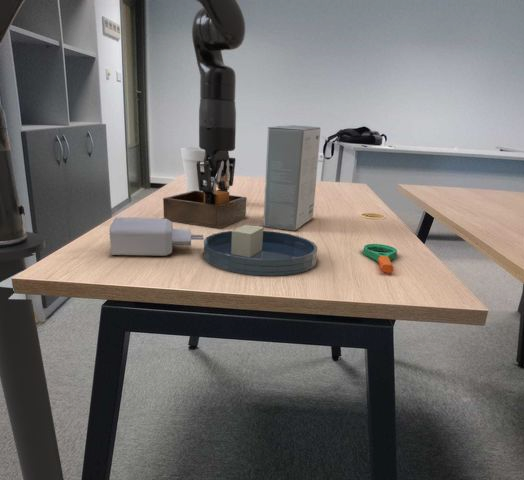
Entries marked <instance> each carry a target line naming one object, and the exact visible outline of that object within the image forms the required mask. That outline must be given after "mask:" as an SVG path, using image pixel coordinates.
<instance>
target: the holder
mask: <svg viewBox="0 0 524 480" xmlns="http://www.w3.org/2000/svg"><path fill="white" fill-rule="evenodd" d="M247 199H248V198H247V196H240V195H232V194H229V202H227V203H224V204H221V205H213V204H206V203H204V192H202V191H190V192H187V191H186V192H183V193H179V194H174V195H171V196H167V197H163V199H162V202H163V203H162V205H163V206H162V207H163V219H168V220H170V221H172V222H173V223H181V224H186V225H192V226H193V225H194V226H200V227H207V228H213V229H222V228H225V227H227V226H229V225H232V224H234V223H236V222H239V221H241V220H243V219H245V218H246V217H247Z"/></svg>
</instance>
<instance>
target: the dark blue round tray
mask: <svg viewBox="0 0 524 480" xmlns="http://www.w3.org/2000/svg"><path fill="white" fill-rule="evenodd" d="M232 231H233V230H227V231H221V232H217V233H213V234H210V235H209V236H207V237H206V238H205V239H203V258H204V260H205V261H206V262H207V263H208V264H210V265H211V266H213V267H215V268H218V269H221V270H223V271H228V272H232V273H235V274H236V273H237V274H243V275H250V276H264V277H269V276H271V277H273V276H275V277H277V276H289V275H290V276H291V275H296V274H300V273H305V272H308V271H309V270H311V269H313V268H314V267H315V265H316V264H317V257H318V256H317V255H318V245H317V244H315V242H313V241H311V240H309V239H307V238H304V237H301V236H299V235H295V234H294V235H293V234H291V233H286V232H279V231H273V230H272V231H271V230H263V241H262V250H261V251H260V252H258V253H256V254H255V255H253V256H251V257H244V256H238V255H232V254H231V245H232Z"/></svg>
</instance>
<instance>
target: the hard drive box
mask: <svg viewBox="0 0 524 480" xmlns="http://www.w3.org/2000/svg"><path fill="white" fill-rule="evenodd" d="M266 137H267V138H266V140H267V141H266V158H265V159H266V161H265V162H266V163H265V165H266V166H265V180H264V181H265V182H264V183H265V184H264V199H263V200H264V201H263V202H264V203H263V205H264V206H263V222H262V225H263V228H270V229H279V230H285V231H286V230H287V231H295V232H296V231H297V230H298V229H300V228H301V227H302V226H303V225H305V224H306V223H308V222H309V221H310V220H311V219H313V217H314V211H315V210H314V208H315V198H316V189H317V188H316V185H317V176H318V175H317V174H318V163H319V150H320V141H321V127H320V126H309V125H296V124H295V125H294V124H292V125H291V124H286V125H285V124H284V125H276V126H267V136H266Z"/></svg>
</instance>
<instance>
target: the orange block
mask: <svg viewBox="0 0 524 480" xmlns="http://www.w3.org/2000/svg"><path fill="white" fill-rule="evenodd" d="M218 190H219V189H216V192H215V194H216V199H215V205H221V204H224V203H227V202H229V195H230V191H228V192H226V191H218ZM204 203H205V193H204Z"/></svg>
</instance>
